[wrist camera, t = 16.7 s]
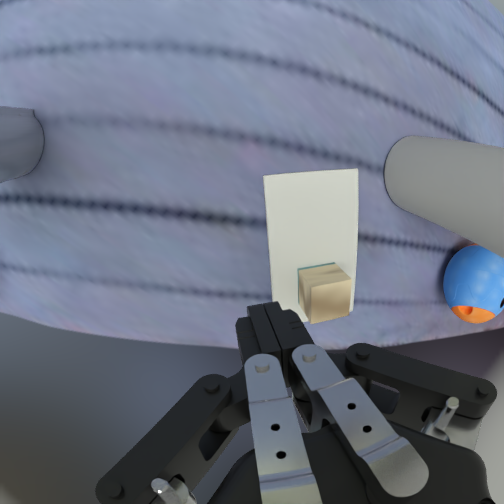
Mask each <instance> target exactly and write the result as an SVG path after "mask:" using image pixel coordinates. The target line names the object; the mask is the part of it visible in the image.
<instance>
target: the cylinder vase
mask: <svg viewBox="0 0 504 504" xmlns="http://www.w3.org/2000/svg"><path fill="white" fill-rule="evenodd" d="M384 178H385V185H386V189H387V191H388V194H389V196H390V198H391V199H392V201H393V202H394V203H395V204H396V205H397V206H398V207H400V208H401V209H403V210H406V211H408V212H410V213H413V214H415V215H417V216H419V217H422V218H424V219H426V220H428V221H431V222H433V223H435V224H437V225H439V226H441V227H443V228H446V229H448V230H450V231H452V232H454V233H456V234H458V235H460V236H462V237H464V238H466V239H468V240H470V241H472V242H474V243H476V244H478V245H480V246H482V247H484V248H485V249H487V250H489V251H491V252H493V253H495V254H497V255H498V256H500V257H502V258H504V148H502V147H496V146H491V145H485V144H479V143H473V142H466V141H459V140H451V139H442V138H433V137H422V136H408V137H405V138H402V139H401V140H399V141H398V142H397V143H396V144H395V145H394V146H393V147H392V149H391V150H390V152H389V154H388V157H387V160H386V164H385V171H384Z"/></svg>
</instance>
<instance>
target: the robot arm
mask: <svg viewBox="0 0 504 504" xmlns="http://www.w3.org/2000/svg"><path fill="white" fill-rule="evenodd" d="M43 146H44V135H43V130H42V127H41V125H40V123H39V121H38V120H37V119H36V118H35V117H34V114H33V109H26V108H16V107H5V106H0V183H2V182H5V181H8V180H11V179H15V178H18V177H21V176H24V175H26V174H28V173H29V172H31V171H32V170H33V169H34V168H35V166H36V165H37V163H38V162H39V160H40V157H41V155H42V151H43ZM247 314H248V317H243V318H238V320H237V322H236V325H235V327H236V333H237V340H238V346H239V351H240V356H241V360H242V364H243V367H242V369H241V370H240V371H239V372H238V373H237V374H235V375H233V376H231V377H229V378H226V377H224V376H221V375H218V374H210V375H206V376H204V377H202V378H200V379H199V380H198V381H197V382H196V383H195V384H194V385H193V386H192V387H191V388H190V389H189V390H188V391H187V392H186V393H185V395H184V396H183V397H182V398H181V399H180V400H179V401H178V402H177V403H176V404H175V405H174V406H173V407H172V408H171V409H170V411H168V412H167V414H166V415H165V416H164V417H163V418H162V419H161V420H160V421H159V422H158V423H157V424H156V425H155V426H154V427H153V428H152V429H151V430H150V431H149V432H148V433H147V434H146V435H145V436H144V437H143V438H142V439H141V440H140V441H139V442H138V443H137V444H136V445H135V446H134V447H133V448H132V449H131V450H130V451H129V452H128V453H127V454H126V455H125V456H124V457H123V458H122V459H121V460H120V461H119V462H118V463H117V464H116V465H115V466H114V467H113V468H112V469H111V470H110V471H109V472H107V473H106V474H105V475H104V476H103V477H102V478H101V479H100V480H99V482H98V483H97V486H96V491H95V492H96V496H97V499H98V500H99V502H100V503H101V504H196V499H195V497H194V496H193V494H192V493H191V492H192V491H193V489H194V488H195V487H196V486H197V484H198V483H199V482H200V481H201V479H202V478H203V477H204V475H205V474H206V473H207V472H208V470H209V469H210V468H211V467H212V465H213V464H214V463H215V461H216V460H217V459H218V457H219V456H220V455H221V454H222V452H223V451H224V450H225V448H226V447H227V445H228V444H229V442H230V441H231V440H232V439H233V437H234V436H235V434H236V433H237V431H238V430H239V426H242V425H244V424H246V423H248V422H250V421H251V425H252V432H253V440H254V447H255V448H254V449H253V450H251V451H249V452H247V453H246V454H244V455H243V456H242V457H241V458H240V459H238V460H237V462H236V463H235V464H234V465H233V467H232V468H231V469H230V471H229V473H228V474H227V476H226V477H225V479H224V480H223V482H222V483H221V484H220V486H219V487H218V489H217V490H216V492H215V493H214V495H213V496H212V497H211V499H210V500H209V502H208V503H207V504H495V503H494V501H493V500H492V499H491V496H490V493H489V490H488V486H487V475H486V468H485V464H484V462H483V460H482V459H481V457H480V456H479V455H478V454H477V453H476V452H475V451H474V450H475V446H476V442H477V439H478V435H479V431H480V427H481V423H482V419H483V417H484V416H485V414H486V413H487V411H488V410H489V408H490V407H491V405H492V404H493V402H494V401H495V399H496V396H497V391H496V388H495V386H494V385H493V384H492V383H491V382H490V381H488V380H485V379H482V378H478V377H474V376H470V375H467V374H463V373H460V372H456V371H453V370H449V369H446V368H443V367H439V366H436V365H433V364H429V363H426V362H423V361H420V360H416V359H413V358H410V357H407V356H404V355H400V354H397V353H394V352H391V351H388V350H385V349H382V348H379V347H376V346H373V345H370V344H366V343H357V344H354V345H352V346H350V347H349V348H348V349H347V351H346V353H345V354H330V353H326V352H325V350H324V349H323V348H322V347H320V346H317V345H315V344H314V342H313V340H312V338H311V337H310V335H309V333H308V331H307V330H306V328H305V327H304V324H303V322H301V319H300V317H299V315H298V314H297V313H296V312H294V311H293V310H291V309H287V310H282V308H281V306H280V304H279V302H278V301H274V302H269V303H263V305H262V304H258V305H252V306H247ZM373 381H376V382H379V383H382V384H384V385H388V386H390V387H393V388H396V389H397V390H398V391H399V392H400V393H397V392H394V391H391V390H388V389H385V388H383V387H380V386H377V385H374V384H372V382H373ZM287 387H291V389H292V399H291V397H290V396H288V393H287V389H286V388H287ZM292 400H293V402H294V404H295V406H296V408H297V410H298V412H299V414H300V416H301V418H302V420H303V422H304V424H305V426H306V428H307V430H308V433H301V431H300V427H299V424H298V420H297V416H296V413H295V409H294V405H293V402H292Z"/></svg>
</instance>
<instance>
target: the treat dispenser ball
mask: <svg viewBox="0 0 504 504" xmlns="http://www.w3.org/2000/svg"><path fill="white" fill-rule="evenodd" d="M443 287H444V294H445V298H446V301H447V303H448V305H449V307H450V309H451V310H452V311H453V312H454V313H455V314H456V315H457V316H458V317H459V318H461V319H462V320H464V321H466V322H470V323H482V322H486V321H488V320H490V319H492V318H494V317H495V316H497V315H498V314H499V313H500V312H501V311H502V310H503V308H504V258H502V257H500V256H498V255H497V254H495V253H493V252H491V251H489V250H487V249H485V248H484V247H482V246H480V245H478V244H472V245H468V246H466V247H464V248H462V249H461V250H459V251H458V252H457V253H456V254H455V255H454V256H453V257H452V259H451V260H450V262H449V264H448V266H447V268H446V271H445V275H444V282H443Z"/></svg>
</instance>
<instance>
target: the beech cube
mask: <svg viewBox="0 0 504 504" xmlns="http://www.w3.org/2000/svg"><path fill="white" fill-rule="evenodd" d="M297 271H298V303H299V305H300V307H301V308H302V310H303V312H304V313H305V315H306V317H307V318H308V320H309V322H310V323H311V324H314V323H318V322H323V321H327V320H331V319H335V318H340V317H344V316H348V315H349V309H350V298H351V285H352V279H351V278H350V277H349V276H348V275H347V274H346V273H345V272H344V271H343V270H342V269H341V268H340V267H339V266H338V265H337V264H336V263H335V262H332V263H327V264H321V265H315V266H310V267H304V268H298V269H297Z"/></svg>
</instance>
